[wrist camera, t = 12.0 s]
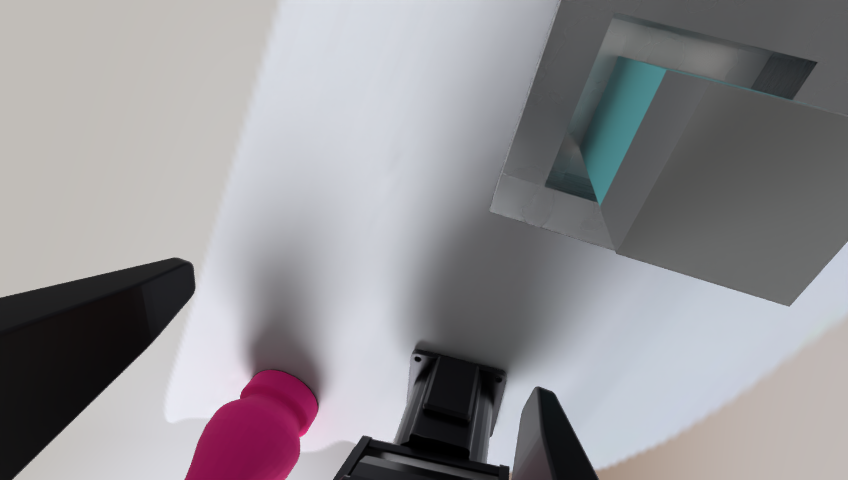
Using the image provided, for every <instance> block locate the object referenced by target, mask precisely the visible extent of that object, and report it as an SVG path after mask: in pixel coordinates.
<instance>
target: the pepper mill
mask: <svg viewBox="0 0 848 480" xmlns="http://www.w3.org/2000/svg"><path fill="white" fill-rule="evenodd" d="M317 411H318V405H317V402H316V398H315V397H314V395H313V393H312V392H311V390H310V389H309V388H308V387H307V386H306V385H305V384H304V383H303V382H301V381H300V380H299V379H297V378H295V377H294V376H292V375H290V374H287V373H285V372H281V371H277V370H266V371H262V372H259V373H257V374H256V375H255V376H254V377H253V378H252V379H251V381H250V382H249V383H248V384H247V385H246V387H245V388H244V389H243V390H242V392H241V395H240V399H238V400H235V401H231V402H229V403H227V404H225V405H223V406H222V407H221V408H220V409H218V410H217V411H216V413H215V414H214V415H213V417H212V418H211V420H210V421H209V422H208V424H207V425H206V427H205V429H204V431H203V433H202V435H201V437H200V439H199V441H198V444H197V447H196V450H195V453H194V456H193V460H192V463H191V465H190V468H189V470H188V473H187V475H186V478H185V480H285V479H286V478H287V476H288V475H289V473H290V472H291V470H292V469H293V467H294V466H295V464H296V463H297V461H298V458H299V455H300V438H299V437H301V436H303V435H304V434H305V433H306V432H307V431H308V429H309V427H310V426H311V424H312V422H313V421H314V419H315V417H316V415H317Z"/></svg>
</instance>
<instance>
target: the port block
mask: <svg viewBox="0 0 848 480" xmlns="http://www.w3.org/2000/svg"><path fill="white" fill-rule="evenodd" d="M619 56H622V57H626V58H630V59H634V60H638V61H642V62H646V63H650V64H654V65H658V66H662V67H666V68H670V69H674V70H678V71H682V72H686V73H690V74H694V75H698V76H703V77H707V78H711V79H715V80H719V81H722V82H726V83H730V84H734V85H737V86H741V87H745V88H749V89H752V90H756V91H760V92H764V93H767V94H771V95H775V96H778V97H782V98H786V99H790V100H793V101H797V102H801V103H805V104H808V105H812V106H816V107H820V108H823V109H827V110H831V111H835V112H838V113H842V114H846V115H848V0H559V1H558V4H557V7H556V10H555V13H554V16H553V19H552V22H551V25H550V28H549V31H548V34H547V37H546V40H545V43H544V46H543V49H542V52H541V55H540V58H539V61H538V64H537V66H536V69H535V72H534V75H533V78H532V81H531V84H530V87H529V90H528V93H527V96H526V99H525V102H524V105H523V108H522V111H521V114H520V117H519V120H518V123H517V126H516V129H515V131H514V134H513V137H512V140H511V143H510V146H509V149H508V152H507V155H506V158H505V161H504V164H503V167H502V170H501V173H500V176H499V179H498V182H497V185H496V188H495V192H494V196H493V199H492V203H491V206H490V210H489V212H493V213H496V214H499V215H502V216H505V217H509V218H512V219H515V220H518V221H521V222H525V223H528V224H531V225H534V226H537V227H541V228H544V229H547V230H550V231H553V232H557V233H560V234H563V235H566V236H569V237H573V238H576V239H579V240H582V241H585V242H589V243H592V244H595V245H598V246H601V247H605V248H608V249H611V250H614V251H615V249H614V246H613V243H612V240H611V238H610V235H609V232H608V229H607V226H606V223H605V221H604V218H603V215H602V212H601V209H600V206H599V203H598V201H597V198H596V195H595V192H594V189H593V186H592V183H591V181H590V178H589V175H588V172H587V169H586V166H585V164H584V161H583V158H582V155H581V152H580V147H581V144H582V142H583V140H584V137H585V135H586V132H587V130H588V128H589V125H590V123H591V121H592V118H593V116H594V114H595V111H596V109H597V107H598V104H599V102H600V100H601V97H602V95H603V92H604V90H605V88H606V85H607V83H608V81H609V78H610V76H611V74H612V71H613V69H614V67H615V64H616V62H617V60H618V57H619Z"/></svg>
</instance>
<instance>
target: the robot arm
mask: <svg viewBox="0 0 848 480" xmlns="http://www.w3.org/2000/svg"><path fill="white" fill-rule="evenodd" d="M194 291H195V276H194V267H193V265H192V263H191V262H189V261H186V260H183V259H180V258H170V259H166V260H162V261H158V262H153V263H149V264H145V265H140V266H136V267H132V268H127V269H123V270H118V271H114V272H110V273H105V274H101V275H97V276H92V277H88V278H84V279H79V280H75V281H71V282H66V283H62V284H58V285H54V286H49V287H45V288H40V289H36V290H32V291H28V292H23V293H19V294H14V295H10V296H6V297H1V298H0V480H12V479H14V477H16V476H17V475H18V474H19V473H20V472H21V471H22V470H23V469H24V468H25V467H26V466H27V465H28V464H29V463H30V462H31V461H32V460H33V459H34V458H35V457H36V456H37V455H38V454H39V453H40V452H41V451H42V450H43V449H44V448H45V447H46V446H47V445H48V444H49V443H50V442H51V441H52V440H53V439H54V438H56V437H57V436H58V434H60V433H61V432H62V431H63V430H64V429H65V428H66V427H67V426H68V425H69V424H70V423H71V422H72V421H73V420H74V419H75V418H76V417H77V416H78V415H79V414H80V413H81V412H82V411H83V410H84V409H85V408H86V407H87V406H88V405H89V404H90V403H91V402H92V401H93V400H94V399H96V398H97V397H98V395H100V394H101V393H102V392H103V391H104V390H105V388H107V387H108V386H109V385H110V384H111V383H112V382H113V381H114V380H115V379H116V378H117V377H118V376H119V375H120V374H121V373H122V372H123V371H124V370H125V369H126V368H127V367H128V366H129V365H130V364H131V363H132V362H133V361H134V360H135V359H136V358H137V357H138V356H140V355H141V354H142V353H143V352H144V351H145V350H146V349H147V347H148V346H150V344H151V343H152V342H153V341H154V340H155V339H156V338H157V337H158V336H159V335H160V334H161V332H162V331H163V330H164V329H165V328H166V326H167V325H168V324H169V323H170V322H171V320H172V319H173V318H174V317H175V316H176V315H177V313H178V312H179V311H180V309H182V308H183V306H184V305H185V304H186V303H187V302H188V300H189V299H190V298H191V297H192V295H193V294H194ZM417 356H418V357H420V358H418V357H417ZM497 377H500V378H497ZM506 378H507V375H506V373H505V372H504V371H502V370H499V369H495V368H491V367H487V366H483V365H479V364H475V363H471V362H467V361H463V360H459V359H455V358H451V357H447V356H443V355H439V354H435V353H431V352H427V351H423V350H414V351H413V353H412V356H411V360H410V371H409V383H408V394H407V405H406V408H405V411H404V414H403V417H402V419H401V422H400V425H399V428H398V431H397V434H396V436H395V439H394V442H393V443H389V442H384V441H379V440H375V439H372V437H368V436H362V438H361V439H360V441H359V442H358V444H357V445H356V446H355V447H354V449H353V450H352V452H351V453H350V455H349V456H348V458H347V459H346V461H345V462H344V464H343V465H342V467H341V468H340V470H339V471H338V473H337V474H336V476H335V477H334V479H333V480H509V466H504V465H500V466H496V465H491V464H486V463H487V454H488V446H489V438H490V437H491V436H492V434H493V430H494V427H495V423H496V419H497V415H498V411H499V407H500V403H501V400H502V396H503V392H504V388H505V384H506ZM512 480H599V478H598V476H597V474H596V472H595V471H594V469H593V467H592V465H591V463H590V461H589V459H588V457H587V455H586V453H585V451H584V449H583V447H582V445H581V443H580V441H579V440H578V438H577V436H576V434H575V432H574V430H573V428H572V426H571V424H570V422H569V420H568V418H567V416H566V414H565V412H564V410H563V408H562V407H561V405H560V403H559V401H558V399H557V397H556V395H555V394H554V393H553V392H552V391H550V390H547V389H544V388H541V387H535V388H534V390H533V391H532V393H531V395H530V397H529V399H528V400H527V402H526V404H525V406H524V408H523V411H522V414H521V419H520V426H519V432H518V439H517V446H516V452H515V459H514V466H513V473H512Z"/></svg>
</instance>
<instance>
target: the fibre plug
mask: <svg viewBox="0 0 848 480" xmlns="http://www.w3.org/2000/svg"><path fill="white" fill-rule="evenodd" d="M580 152H581V155H582V158H583V161H584V164H585V166H586V169H587V172H588V175H589V178H590V181H591V183H592V186H593V189H594V192H595V195H596V198H597V201H598V203H599V206H600V209H601V212H602V215H603V218H604V221H605V223H606V226H607V229H608V232H609V235H610V238H611V240H612V243H613V246H614V249H615V252H616V254H619V255H622V256H626V257H629V258H632V259H636V260H639V261H642V262H645V263H649V264H652V265H655V266H658V267H662V268H665V269H668V270H671V271H675V272H678V273H681V274H684V275H688V276H691V277H694V278H698V279H701V280H704V281H707V282H711V283H714V284H717V285H720V286H724V287H727V288H730V289H733V290H737V291H740V292H743V293H746V294H750V295H753V296H756V297H760V298H763V299H766V300H769V301H773V302H776V303H779V304H782V305H786V306H790V305H791V304H792V303H793V302H794V301H795V300H796V299H797V297H798V296H799V295H800V294H801V293H802V292H803V291H804V290H805V289H806V287H807V286H808V285H809V284H810V283H811V282H812V281H813V280H814V278H815V277H816V276H817V275H818V274H819V273H820V272H821V271H822V269H823V268H824V267H825V266H826V265H827V264H828V263H829V262H830V261H831V259H832V258H833V257H834V256H835V255H836V254H837V253H838V252H839V250H840V249H841V248H842V247H843V246H844V245H845V244H846V243H847V241H848V115H846V114H842V113H838V112H835V111H831V110H827V109H823V108H820V107H816V106H812V105H808V104H805V103H801V102H797V101H793V100H790V99H786V98H782V97H778V96H775V95H771V94H767V93H764V92H760V91H756V90H752V89H749V88H745V87H741V86H737V85H734V84H730V83H726V82H722V81H719V80H715V79H711V78H707V77H703V76H698V75H694V74H690V73H686V72H682V71H678V70H674V69H670V68H666V67H662V66H658V65H654V64H650V63H646V62H642V61H638V60H634V59H630V58H626V57H622V56H619V57H618V60H617V62H616V64H615V67H614V69H613V71H612V74H611V76H610V78H609V81H608V83H607V85H606V88H605V90H604V92H603V95H602V97H601V100H600V102H599V104H598V107H597V109H596V111H595V114H594V116H593V118H592V121H591V123H590V125H589V128H588V130H587V132H586V135H585V137H584V140H583V142H582V144H581V147H580Z"/></svg>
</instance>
